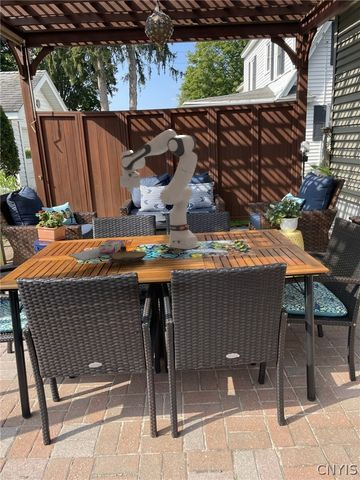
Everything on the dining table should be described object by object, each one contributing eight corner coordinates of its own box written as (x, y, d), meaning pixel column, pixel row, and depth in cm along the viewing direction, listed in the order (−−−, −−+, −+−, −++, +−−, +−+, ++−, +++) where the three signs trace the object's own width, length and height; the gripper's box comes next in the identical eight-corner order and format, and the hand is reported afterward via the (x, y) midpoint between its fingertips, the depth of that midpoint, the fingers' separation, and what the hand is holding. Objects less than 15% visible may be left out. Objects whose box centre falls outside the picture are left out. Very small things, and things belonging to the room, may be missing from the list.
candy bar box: (109, 246, 246) (98, 252, 231) (108, 239, 245) (97, 245, 230) (124, 246, 243) (114, 253, 228) (124, 239, 242) (114, 245, 227)
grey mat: (117, 252, 235) (117, 250, 235) (83, 260, 220) (83, 258, 219) (101, 247, 250) (101, 245, 250) (68, 255, 234) (68, 253, 234)
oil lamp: (103, 269, 200) (102, 256, 199) (116, 255, 230) (114, 243, 228) (143, 268, 199) (142, 254, 197) (151, 253, 228) (150, 241, 226)
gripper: (117, 174, 263) (118, 193, 266) (133, 174, 248) (135, 194, 251) (124, 173, 267) (126, 192, 270) (141, 173, 252) (142, 193, 255)
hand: (130, 193), depth 261 cm, fingers closed
